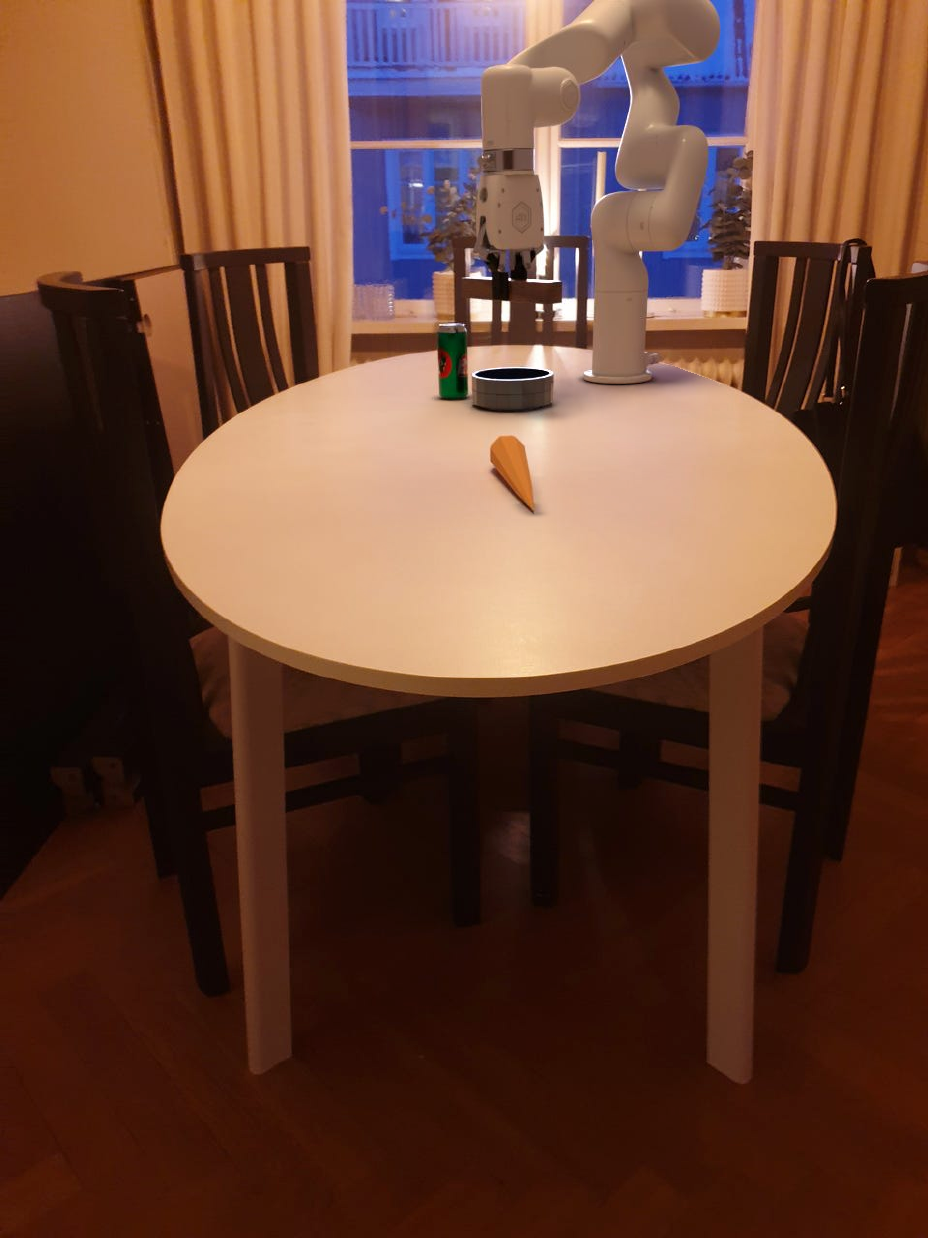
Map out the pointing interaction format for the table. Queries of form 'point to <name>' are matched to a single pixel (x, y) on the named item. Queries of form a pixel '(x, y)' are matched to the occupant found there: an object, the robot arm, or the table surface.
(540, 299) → the rectangular bar
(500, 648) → the table surface
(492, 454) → the carrot
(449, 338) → the soda can
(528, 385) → the bowl
